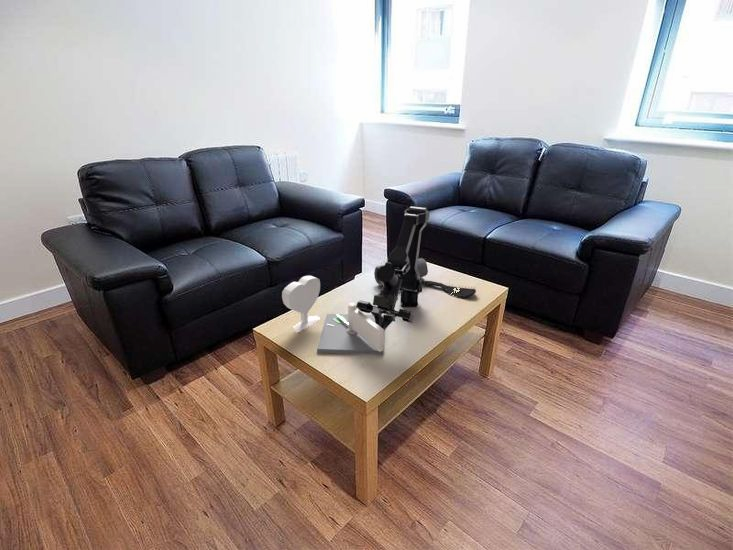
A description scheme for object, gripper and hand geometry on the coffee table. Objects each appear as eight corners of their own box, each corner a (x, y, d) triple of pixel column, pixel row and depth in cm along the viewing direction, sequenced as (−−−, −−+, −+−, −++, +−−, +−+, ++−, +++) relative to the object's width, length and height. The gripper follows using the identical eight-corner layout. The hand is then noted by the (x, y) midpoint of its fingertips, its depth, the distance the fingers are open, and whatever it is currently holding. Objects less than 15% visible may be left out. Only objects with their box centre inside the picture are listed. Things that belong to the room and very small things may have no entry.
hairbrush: (424, 274, 176) (478, 285, 164) (424, 281, 177) (478, 292, 165) (416, 281, 170) (472, 293, 157) (416, 289, 171) (472, 301, 159)
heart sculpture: (314, 312, 151) (311, 271, 143) (323, 317, 149) (321, 275, 141) (284, 331, 140) (279, 287, 132) (294, 335, 137) (289, 291, 130)
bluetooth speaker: (382, 291, 167) (382, 270, 162) (373, 282, 175) (373, 262, 170) (427, 281, 175) (429, 261, 170) (417, 273, 182) (418, 254, 178)
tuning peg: (333, 316, 144) (332, 293, 140) (340, 314, 146) (339, 291, 142) (377, 355, 124) (378, 329, 119) (385, 351, 125) (385, 326, 121)
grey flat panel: (384, 318, 147) (384, 314, 146) (383, 354, 128) (383, 349, 127) (327, 317, 148) (326, 312, 148) (317, 352, 129) (316, 347, 128)
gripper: (357, 278, 126) (343, 324, 122) (412, 289, 120) (399, 338, 115) (367, 289, 136) (354, 331, 132) (418, 299, 130) (406, 344, 125)
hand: (377, 336), depth 126 cm, fingers closed
